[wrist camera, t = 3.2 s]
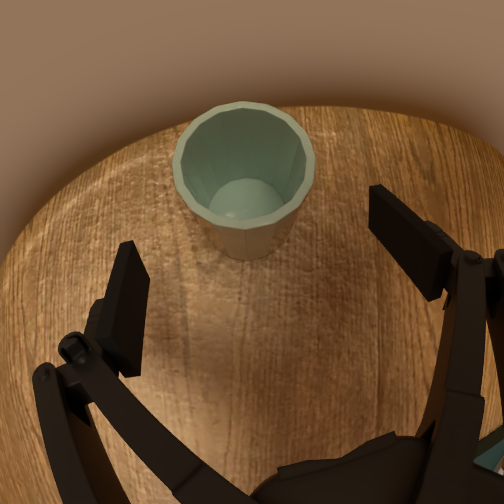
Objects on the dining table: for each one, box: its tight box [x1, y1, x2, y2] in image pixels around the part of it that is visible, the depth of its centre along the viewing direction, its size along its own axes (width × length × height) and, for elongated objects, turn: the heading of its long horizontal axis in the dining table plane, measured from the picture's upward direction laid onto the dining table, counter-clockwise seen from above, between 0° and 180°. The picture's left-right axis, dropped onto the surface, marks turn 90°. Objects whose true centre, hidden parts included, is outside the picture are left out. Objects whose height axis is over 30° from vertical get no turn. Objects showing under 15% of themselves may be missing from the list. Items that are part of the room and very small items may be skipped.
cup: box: [172, 101, 316, 260], centre depth 21 cm, size 7×7×11 cm
